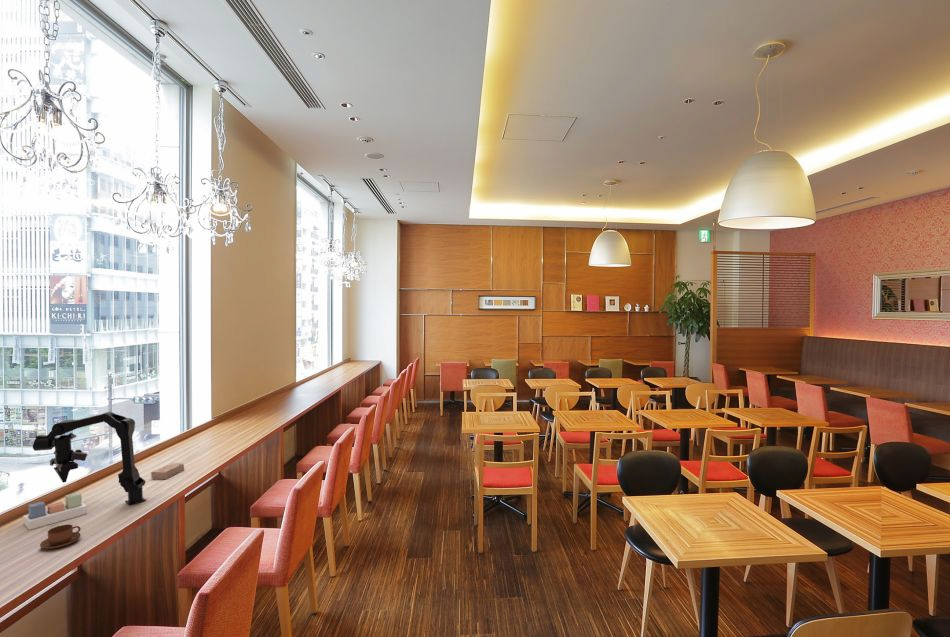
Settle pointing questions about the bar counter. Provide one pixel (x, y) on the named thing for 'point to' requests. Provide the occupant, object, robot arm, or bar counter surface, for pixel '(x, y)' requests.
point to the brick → (167, 471)
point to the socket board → (54, 517)
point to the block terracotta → (55, 507)
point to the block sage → (73, 500)
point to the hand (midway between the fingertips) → (64, 482)
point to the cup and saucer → (60, 536)
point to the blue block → (36, 510)
